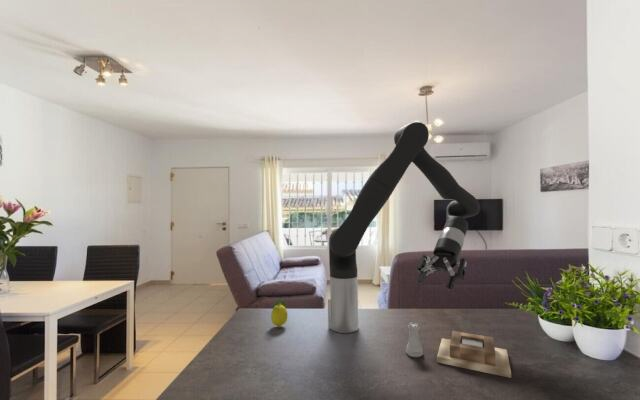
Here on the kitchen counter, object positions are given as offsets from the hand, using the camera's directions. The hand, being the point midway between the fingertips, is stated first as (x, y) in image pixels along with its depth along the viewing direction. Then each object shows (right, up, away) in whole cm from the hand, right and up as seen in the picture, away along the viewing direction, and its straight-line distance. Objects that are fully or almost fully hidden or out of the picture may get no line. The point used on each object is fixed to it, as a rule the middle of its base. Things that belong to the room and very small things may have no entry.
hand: (433, 286), depth 89 cm
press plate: (+6, -12, -11) cm, 18 cm away
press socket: (+6, -16, -11) cm, 20 cm away
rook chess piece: (-9, -16, -8) cm, 20 cm away
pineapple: (-48, -17, +11) cm, 52 cm away
